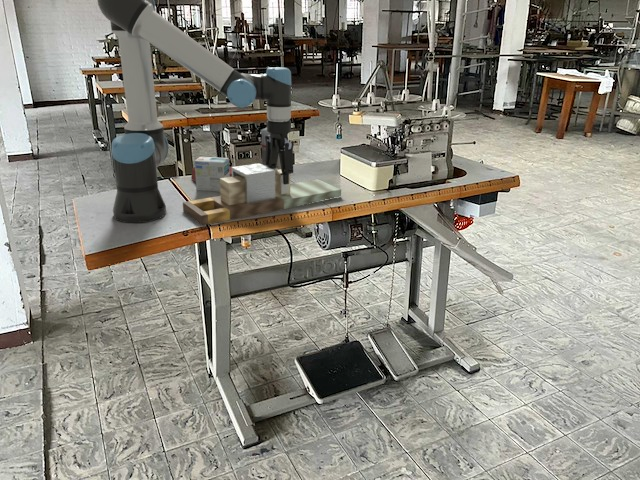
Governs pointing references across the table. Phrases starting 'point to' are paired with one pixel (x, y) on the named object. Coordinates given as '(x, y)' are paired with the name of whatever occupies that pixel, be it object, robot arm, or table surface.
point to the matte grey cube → (257, 182)
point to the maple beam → (242, 188)
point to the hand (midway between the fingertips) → (279, 190)
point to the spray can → (265, 133)
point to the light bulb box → (210, 172)
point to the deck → (220, 211)
